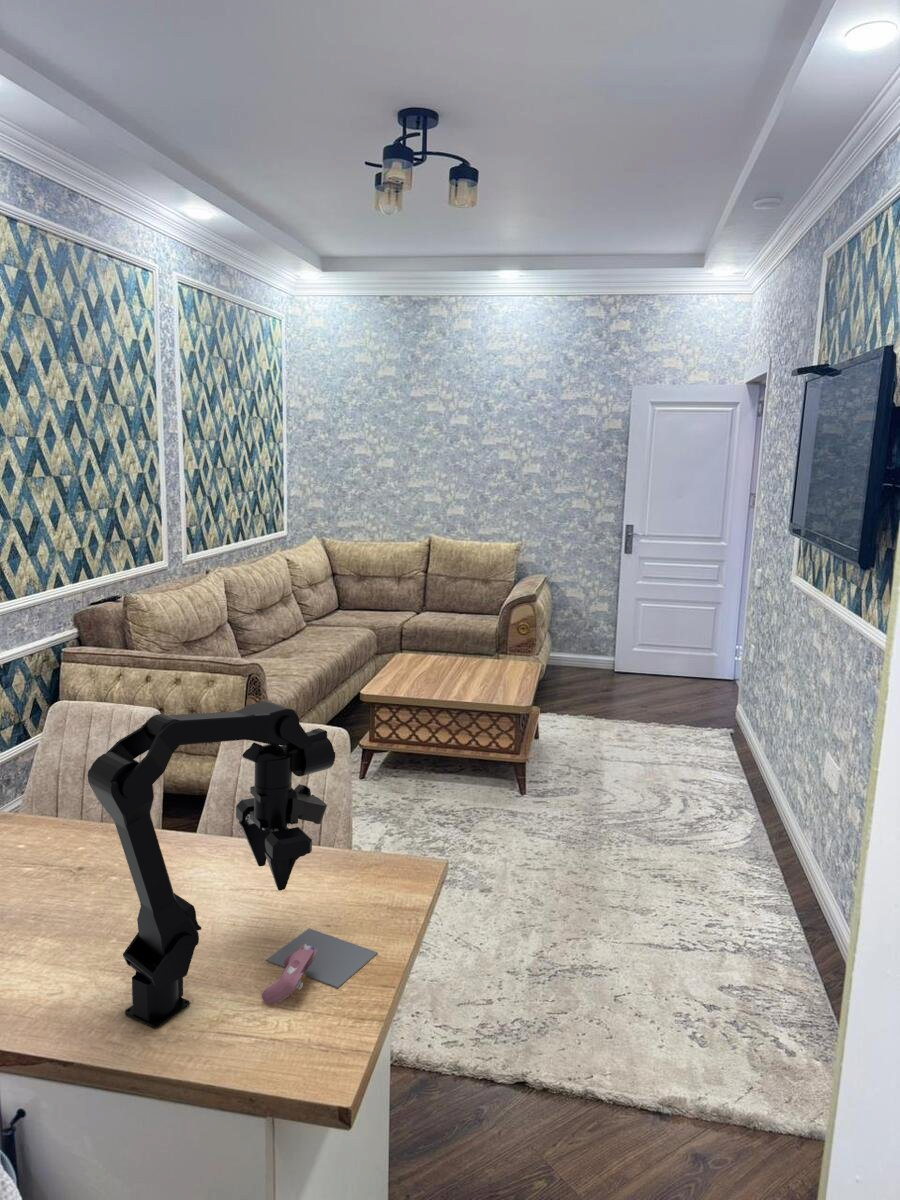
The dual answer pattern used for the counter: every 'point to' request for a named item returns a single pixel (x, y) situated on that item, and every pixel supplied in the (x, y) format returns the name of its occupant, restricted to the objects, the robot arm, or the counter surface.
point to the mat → (327, 957)
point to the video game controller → (291, 974)
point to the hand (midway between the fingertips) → (271, 877)
